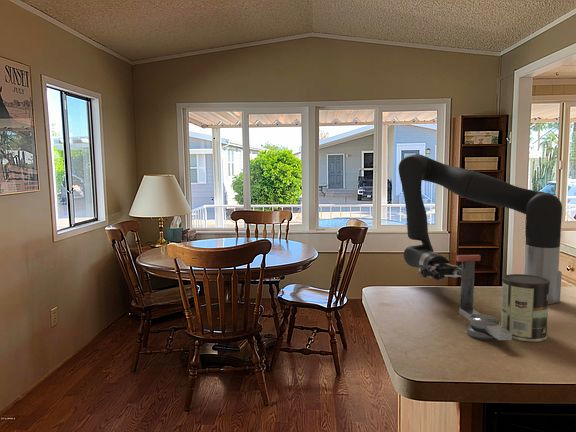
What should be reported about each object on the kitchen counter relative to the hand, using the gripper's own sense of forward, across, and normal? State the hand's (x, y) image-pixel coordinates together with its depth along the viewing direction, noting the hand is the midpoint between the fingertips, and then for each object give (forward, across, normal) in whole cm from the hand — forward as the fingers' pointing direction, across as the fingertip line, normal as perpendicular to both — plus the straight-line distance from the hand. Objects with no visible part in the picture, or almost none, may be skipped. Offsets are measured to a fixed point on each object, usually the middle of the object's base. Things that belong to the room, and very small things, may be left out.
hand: (453, 276), depth 128 cm
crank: (+18, +1, +8) cm, 20 cm away
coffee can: (+19, +11, +10) cm, 24 cm away
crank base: (+19, +1, +10) cm, 21 cm away
